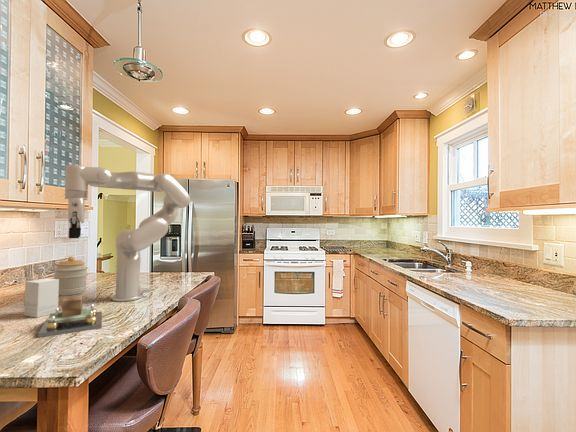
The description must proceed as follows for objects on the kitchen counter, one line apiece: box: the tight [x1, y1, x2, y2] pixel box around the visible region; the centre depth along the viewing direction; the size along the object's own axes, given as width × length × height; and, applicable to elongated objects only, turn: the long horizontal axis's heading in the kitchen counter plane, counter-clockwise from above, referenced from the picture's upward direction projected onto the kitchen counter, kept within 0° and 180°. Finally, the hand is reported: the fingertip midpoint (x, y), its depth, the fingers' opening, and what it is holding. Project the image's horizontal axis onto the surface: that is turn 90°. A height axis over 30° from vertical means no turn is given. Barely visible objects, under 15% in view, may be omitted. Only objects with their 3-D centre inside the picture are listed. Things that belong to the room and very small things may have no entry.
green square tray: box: [46, 295, 95, 323], centre depth 97 cm, size 12×12×6 cm
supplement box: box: [23, 277, 60, 318], centre depth 108 cm, size 7×7×13 cm
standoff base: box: [37, 303, 103, 338], centre depth 97 cm, size 16×16×5 cm
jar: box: [53, 256, 88, 296], centre depth 141 cm, size 13×13×18 cm
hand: (74, 237), depth 117 cm, fingers open, 9 cm apart
